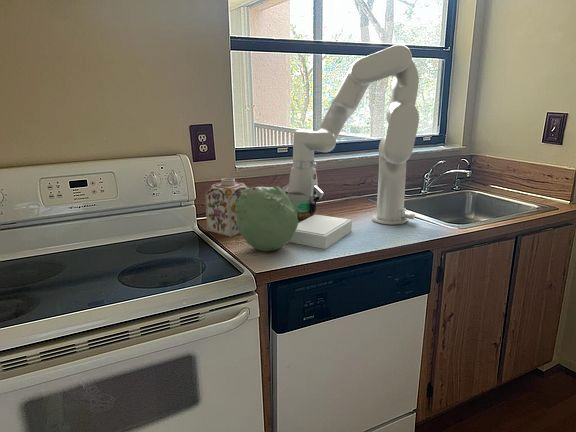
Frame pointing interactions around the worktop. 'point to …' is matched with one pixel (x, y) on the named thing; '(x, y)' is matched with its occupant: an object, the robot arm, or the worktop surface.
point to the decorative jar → (223, 206)
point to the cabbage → (265, 217)
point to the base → (321, 231)
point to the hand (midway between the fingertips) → (302, 211)
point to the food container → (301, 205)
